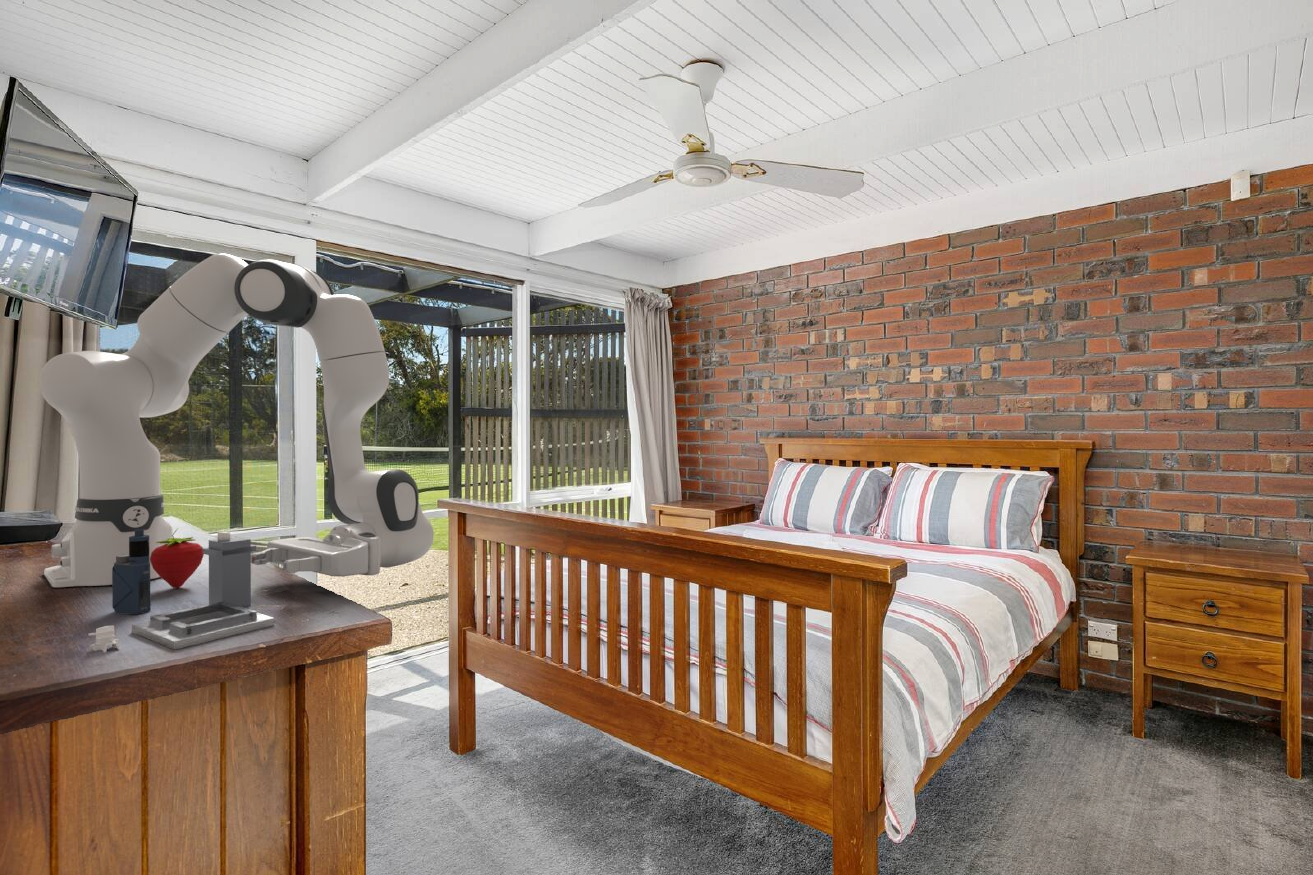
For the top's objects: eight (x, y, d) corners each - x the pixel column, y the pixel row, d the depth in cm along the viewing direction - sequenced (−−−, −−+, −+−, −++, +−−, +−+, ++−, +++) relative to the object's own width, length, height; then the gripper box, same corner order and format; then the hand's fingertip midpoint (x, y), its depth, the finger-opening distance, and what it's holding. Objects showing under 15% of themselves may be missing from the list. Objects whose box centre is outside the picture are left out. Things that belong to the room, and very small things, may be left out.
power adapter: (117, 648, 84) (117, 623, 84) (123, 652, 82) (123, 627, 82) (86, 654, 82) (86, 628, 82) (91, 659, 80) (91, 633, 80)
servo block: (203, 607, 100) (202, 532, 100) (242, 599, 105) (242, 528, 105) (216, 612, 98) (216, 535, 98) (256, 603, 103) (256, 530, 103)
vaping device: (138, 615, 96) (137, 531, 96) (108, 613, 97) (107, 530, 97) (155, 610, 99) (154, 528, 98) (125, 608, 100) (125, 527, 99)
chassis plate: (131, 632, 89) (131, 617, 89) (229, 611, 99) (229, 597, 99) (174, 649, 82) (174, 633, 82) (274, 625, 93) (274, 610, 92)
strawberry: (211, 586, 113) (211, 526, 113) (159, 595, 107) (158, 532, 107) (194, 581, 117) (194, 523, 116) (143, 590, 110) (142, 529, 110)
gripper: (314, 526, 124) (234, 536, 112) (385, 538, 113) (305, 550, 101) (314, 560, 124) (234, 574, 112) (385, 575, 113) (305, 592, 101)
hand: (268, 563), depth 107 cm, fingers open, 8 cm apart
